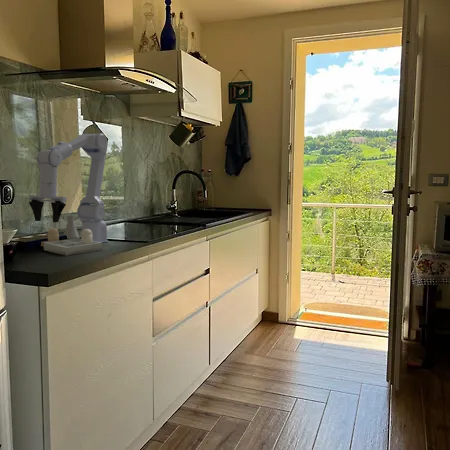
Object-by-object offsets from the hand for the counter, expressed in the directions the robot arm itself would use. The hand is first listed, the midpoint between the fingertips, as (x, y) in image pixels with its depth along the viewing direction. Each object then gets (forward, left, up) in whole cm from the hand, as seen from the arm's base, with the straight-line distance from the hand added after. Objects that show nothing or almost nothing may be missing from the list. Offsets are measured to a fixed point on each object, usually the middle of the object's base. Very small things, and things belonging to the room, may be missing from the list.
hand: (46, 221), depth 163 cm
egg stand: (-8, -10, -11) cm, 17 cm away
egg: (-8, -10, -11) cm, 17 cm away
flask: (-23, -22, -11) cm, 34 cm away
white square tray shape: (-9, +3, -11) cm, 14 cm away
